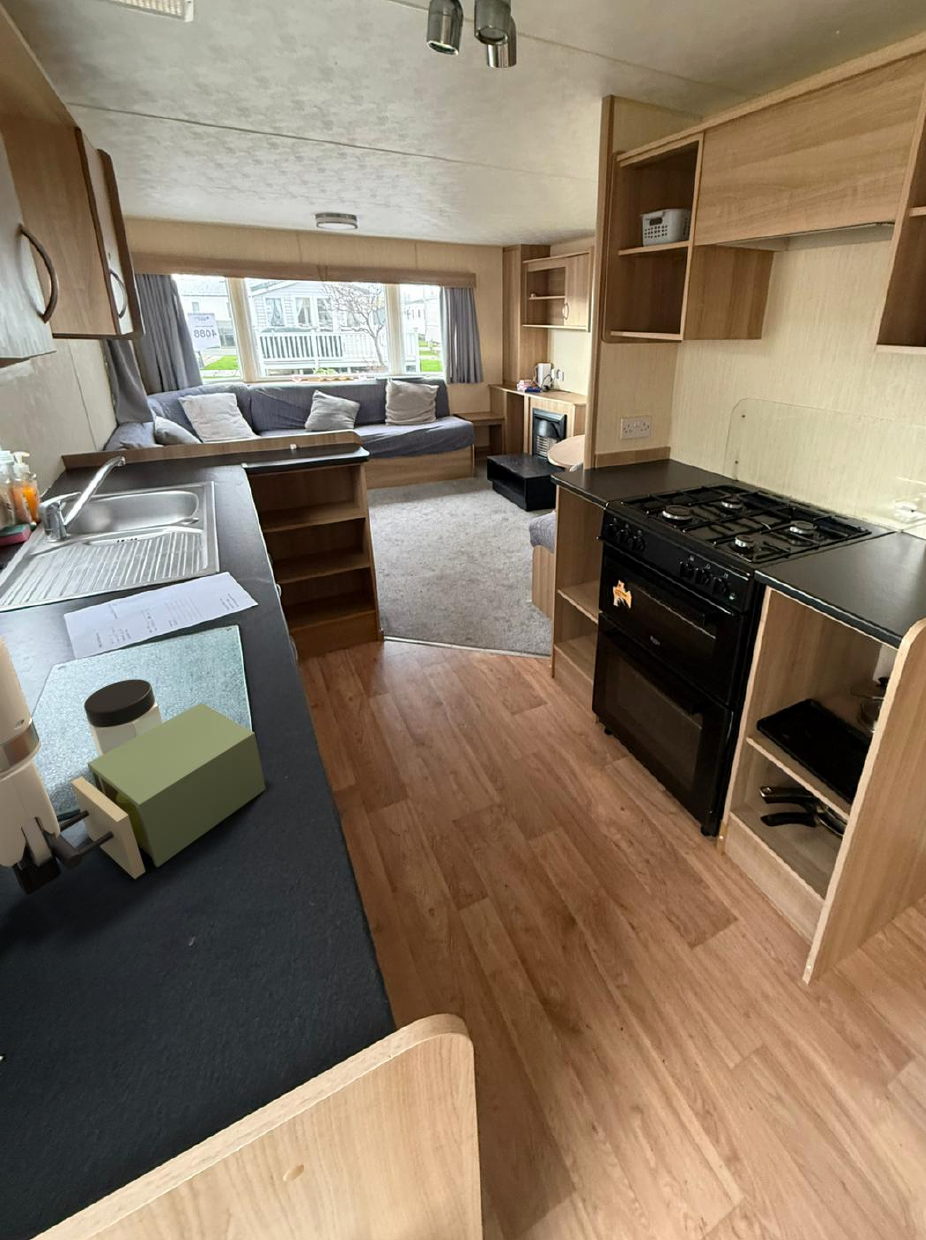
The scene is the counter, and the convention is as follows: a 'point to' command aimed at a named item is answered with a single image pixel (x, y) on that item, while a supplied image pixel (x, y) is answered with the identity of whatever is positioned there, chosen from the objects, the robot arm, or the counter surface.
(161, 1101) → the counter surface
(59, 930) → the counter surface
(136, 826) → the pear
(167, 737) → the cabinet
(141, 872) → the drawer
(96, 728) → the jar
